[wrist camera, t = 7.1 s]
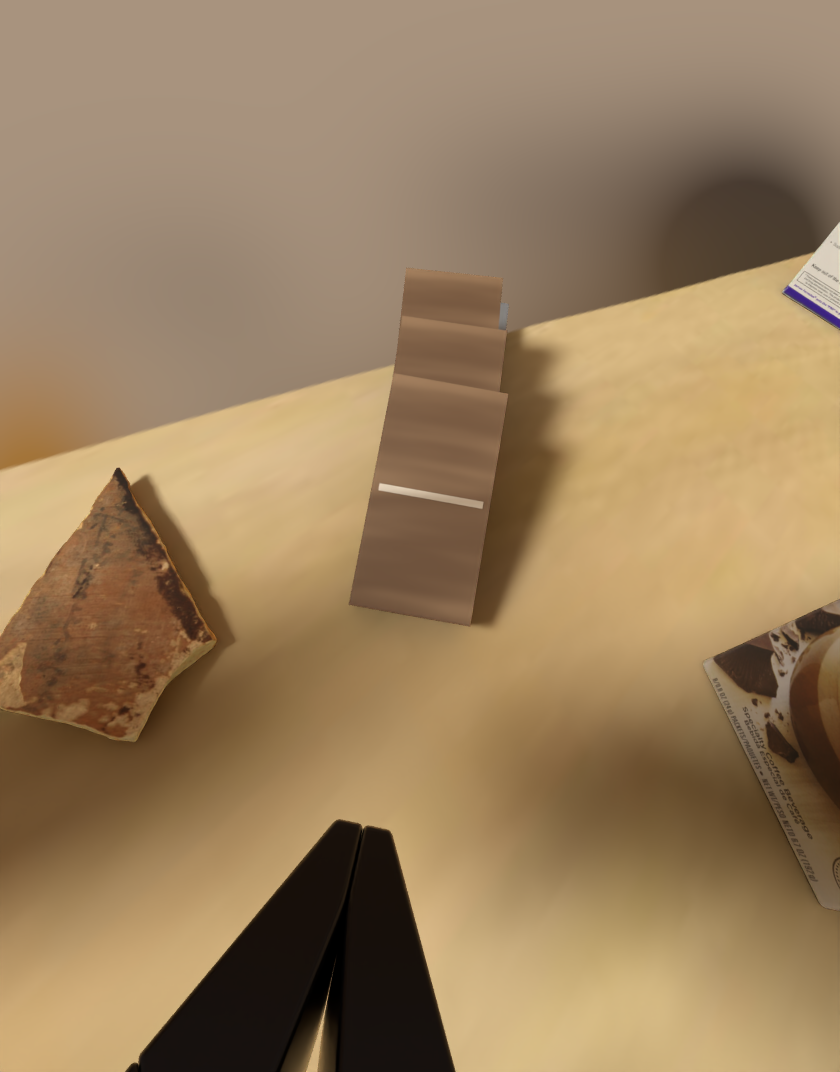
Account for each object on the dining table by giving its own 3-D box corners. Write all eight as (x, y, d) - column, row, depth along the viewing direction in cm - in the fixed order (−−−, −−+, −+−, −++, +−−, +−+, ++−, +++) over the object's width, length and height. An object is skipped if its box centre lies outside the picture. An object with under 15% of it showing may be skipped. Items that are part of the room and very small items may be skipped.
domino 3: (470, 626, 20) (508, 393, 21) (348, 604, 19) (393, 372, 21) (465, 623, 21) (501, 408, 22) (353, 603, 21) (394, 389, 22)
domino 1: (486, 466, 24) (503, 277, 25) (385, 455, 24) (406, 267, 25) (481, 474, 25) (497, 297, 26) (387, 464, 25) (406, 287, 26)
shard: (130, 485, 24) (114, 461, 22) (279, 520, 24) (273, 499, 22) (-19, 707, 18) (-55, 696, 17) (174, 756, 18) (155, 750, 16)
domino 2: (480, 539, 22) (507, 330, 23) (370, 523, 22) (402, 315, 23) (475, 542, 23) (500, 348, 24) (373, 528, 23) (402, 334, 24)
